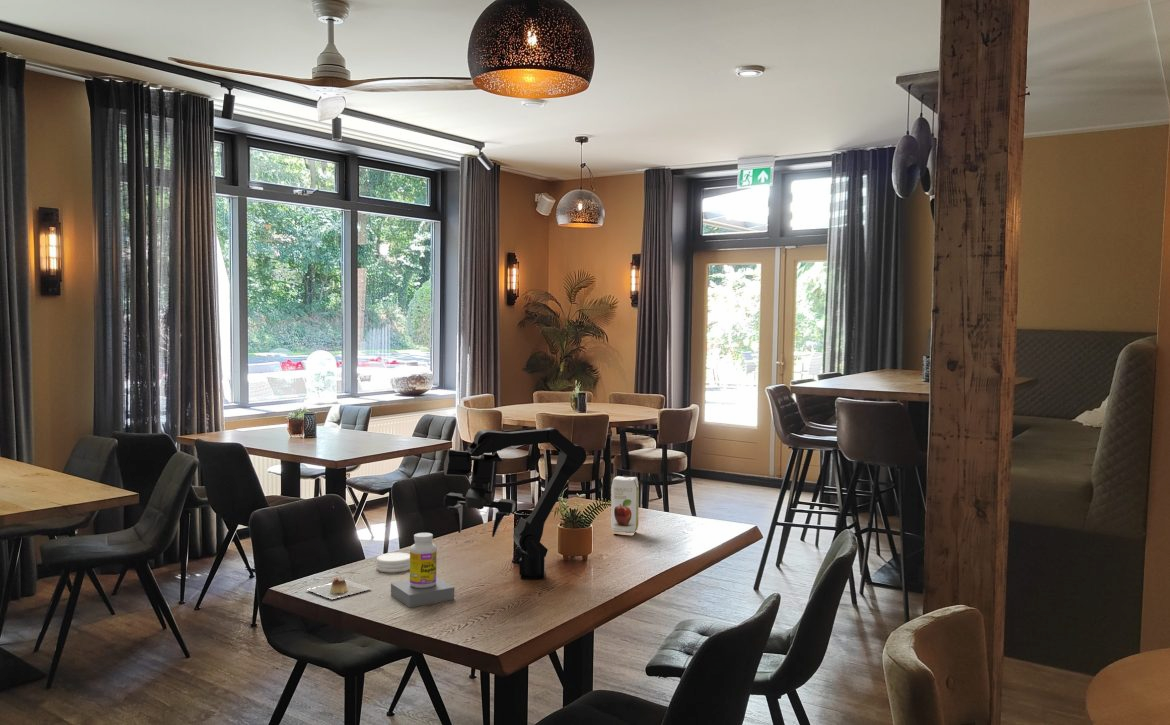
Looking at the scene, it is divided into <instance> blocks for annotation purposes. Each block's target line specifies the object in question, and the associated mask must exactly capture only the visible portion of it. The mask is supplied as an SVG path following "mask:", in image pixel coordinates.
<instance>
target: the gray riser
mask: <svg viewBox="0 0 1170 725" xmlns="http://www.w3.org/2000/svg"><path fill="white" fill-rule="evenodd" d="M390 595H391V596H392V597H393V598H395V599H396V600H398V601H399V602H401V603H402V604H403V605H405V606H406V607H408V608H414V607H418V606H425V605H430V604H436V603H440V602H446V601H452V600H455V586H453V585H452V584H450V583H448V582H447V581H445V580H442V579H441V578H439V577H438V576H436V584H435V585H434V586H432V587H428V588H415V587H412V586H411V585H410V579H409V580H408V579H407V580H403V581H395V582H391V583H390Z"/></svg>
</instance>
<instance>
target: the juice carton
mask: <svg viewBox="0 0 1170 725" xmlns="http://www.w3.org/2000/svg"><path fill="white" fill-rule="evenodd" d="M639 485H640V484H639V480H638V476H621V475H617V476H615V477H614V478H613V479H612V483H611V490H610V491H611V497H610V498H611V501H610V502H611V504H610V506H611V508H610V510H611V511H610V512H611V513H610V518H611V520H610V521H611V522H610V525H611V531H614V532H625V533H634V532H635V531H636V530H637V531H638V529H639V515H640V514H639V507H640V506H639V503H640V502H639V501H640V500H639V496H640V490H639V488H640V487H639Z"/></svg>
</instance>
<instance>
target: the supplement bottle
mask: <svg viewBox="0 0 1170 725" xmlns="http://www.w3.org/2000/svg"><path fill="white" fill-rule="evenodd" d="M433 539H434V535H433V533H430V532H418V533H415V534H413V541H414V543H413V544H412V545H411V546H410V548H409V554H410V569H409V580H410V585H411V586H412V587H415V588H428V587H432V586H434V585H435V584H436V577H437V550H438V549H437V548H438V547H437V546H436V544H434V543H433Z"/></svg>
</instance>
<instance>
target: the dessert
mask: <svg viewBox="0 0 1170 725" xmlns="http://www.w3.org/2000/svg"><path fill="white" fill-rule="evenodd" d="M348 586H349V587H354V588H356V587H357V589H359V588H361V589H360V591H356V592H353V593H349V594H344V593H343V592H345V593H347V592H349V589H348ZM326 587H327V588H326ZM328 587H329V588H330V590H329V593H330V592H332V593H331V594H333V593H340V594H344V595H340V596H337V597H333V598H332V597H330V596H326V595H324V594H321V593H319V592H317V591H318V590H317V589H321V590H323V589H322V588H325V589H329V588H328ZM362 589H364V590H362ZM372 589H373V588H371V587H368V586H366V585H364V584H360V583H358V582H354V581H351V580H348V579H345V578H344V577H343V576H342V575H340V574H339V576H338V578H337V577H336V578H334V579H333V580H332V582H331V583H326V584H323V585H318V586H314V587H310V588H305V590H306V591H308V592H310V593H312V592H313V594H316V595H319V596H320V595H321V596H320V597H324V598H326V599H328V598H329V599H328V600H332V601H334V600H333V599H335V600H337V598H339V599H342V598H345V596H346V597H349V596H348V595H350V596H354V595H357V594H356V593H358V594H361V593H364V591H365V592H368V591H370V590H372ZM312 590H317V591H312ZM346 591H347V592H346ZM360 592H361V593H360ZM353 594H354V595H353ZM341 597H342V598H341Z"/></svg>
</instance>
